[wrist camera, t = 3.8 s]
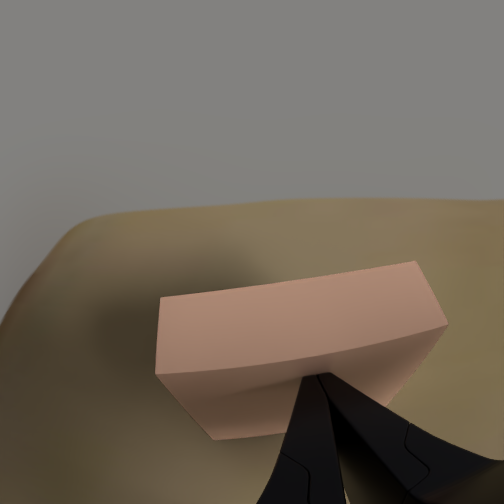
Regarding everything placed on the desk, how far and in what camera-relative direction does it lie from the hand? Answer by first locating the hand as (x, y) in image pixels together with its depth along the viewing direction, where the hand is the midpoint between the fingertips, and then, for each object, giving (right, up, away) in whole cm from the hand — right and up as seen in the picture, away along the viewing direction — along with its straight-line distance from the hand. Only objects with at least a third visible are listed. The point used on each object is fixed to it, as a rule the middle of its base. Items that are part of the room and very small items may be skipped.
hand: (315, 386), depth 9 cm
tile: (0, -3, +5) cm, 6 cm away
